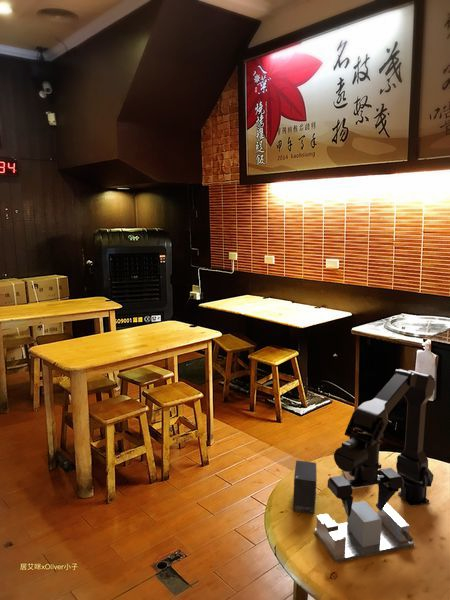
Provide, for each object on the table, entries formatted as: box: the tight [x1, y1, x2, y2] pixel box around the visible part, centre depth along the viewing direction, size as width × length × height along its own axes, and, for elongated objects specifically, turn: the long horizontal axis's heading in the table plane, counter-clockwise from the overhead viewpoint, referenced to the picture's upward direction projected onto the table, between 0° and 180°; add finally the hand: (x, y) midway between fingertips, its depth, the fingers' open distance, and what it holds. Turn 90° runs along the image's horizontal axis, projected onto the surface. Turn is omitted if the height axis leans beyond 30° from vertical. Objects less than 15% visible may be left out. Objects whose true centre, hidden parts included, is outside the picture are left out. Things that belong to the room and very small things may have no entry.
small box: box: [292, 459, 318, 514], centre depth 140 cm, size 11×6×10 cm, turn 168°
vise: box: [314, 513, 415, 564], centre depth 124 cm, size 22×12×6 cm, turn 105°
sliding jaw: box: [375, 502, 414, 542], centre depth 126 cm, size 2×15×4 cm, turn 15°
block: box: [346, 500, 382, 547], centre depth 124 cm, size 5×8×7 cm, turn 15°
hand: (364, 512), depth 123 cm, fingers open, 9 cm apart
